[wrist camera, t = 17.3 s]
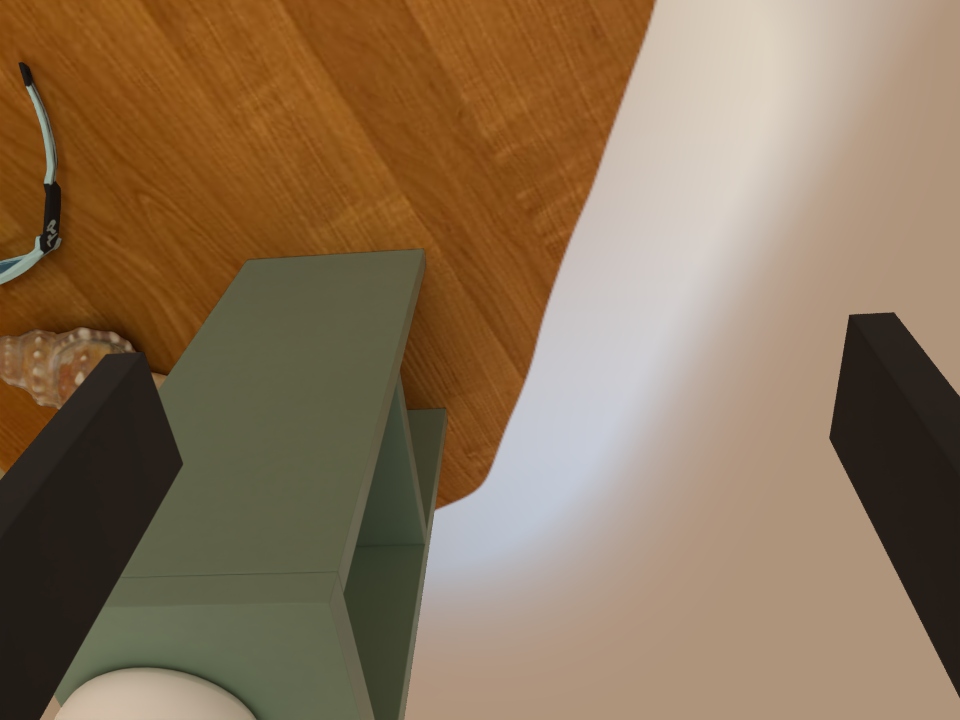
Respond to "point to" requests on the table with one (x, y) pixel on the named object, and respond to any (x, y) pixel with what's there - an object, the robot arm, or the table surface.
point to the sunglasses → (49, 237)
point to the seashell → (57, 361)
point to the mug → (152, 698)
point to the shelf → (288, 499)
